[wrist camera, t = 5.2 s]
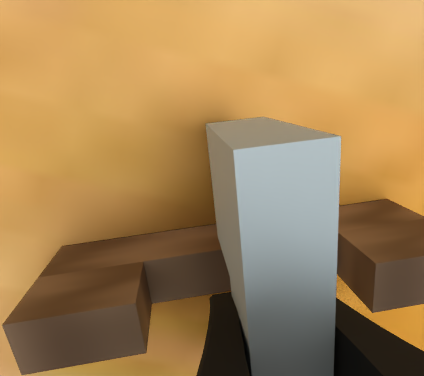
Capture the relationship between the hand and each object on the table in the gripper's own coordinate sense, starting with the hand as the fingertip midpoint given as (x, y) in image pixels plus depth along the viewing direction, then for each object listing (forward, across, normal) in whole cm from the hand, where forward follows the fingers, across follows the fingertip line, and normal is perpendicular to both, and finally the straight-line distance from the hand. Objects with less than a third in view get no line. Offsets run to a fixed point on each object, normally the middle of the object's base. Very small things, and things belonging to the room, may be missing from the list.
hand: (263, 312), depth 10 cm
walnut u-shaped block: (+5, 0, 0) cm, 5 cm away
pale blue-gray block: (+2, 0, 0) cm, 2 cm away
